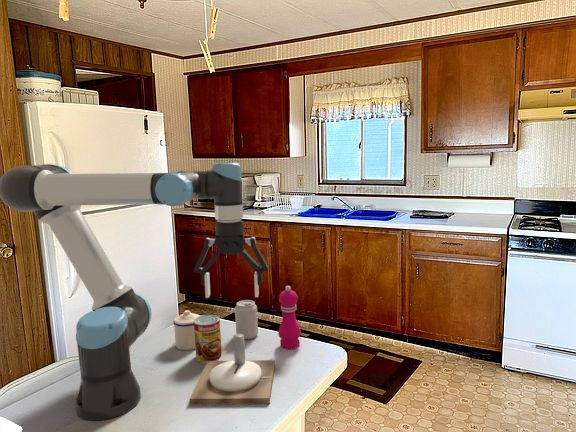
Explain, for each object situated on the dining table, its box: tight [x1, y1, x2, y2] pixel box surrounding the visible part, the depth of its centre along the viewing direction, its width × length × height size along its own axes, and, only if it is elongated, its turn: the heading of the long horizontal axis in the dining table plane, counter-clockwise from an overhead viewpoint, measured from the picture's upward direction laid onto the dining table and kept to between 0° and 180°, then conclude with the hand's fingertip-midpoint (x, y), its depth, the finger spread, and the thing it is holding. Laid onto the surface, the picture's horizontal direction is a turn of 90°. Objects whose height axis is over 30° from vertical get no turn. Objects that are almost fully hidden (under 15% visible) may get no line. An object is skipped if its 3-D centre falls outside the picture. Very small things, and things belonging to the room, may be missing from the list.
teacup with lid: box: [172, 310, 201, 351], centre depth 142 cm, size 12×9×12 cm
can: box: [234, 299, 259, 340], centre depth 146 cm, size 8×8×12 cm
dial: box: [209, 333, 261, 392], centre depth 115 cm, size 14×14×10 cm
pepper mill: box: [278, 285, 302, 350], centre depth 137 cm, size 7×7×20 cm
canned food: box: [194, 314, 223, 363], centre depth 132 cm, size 8×8×12 cm
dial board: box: [189, 359, 276, 406], centre depth 116 cm, size 20×20×2 cm
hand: (232, 296), depth 118 cm, fingers open, 13 cm apart
